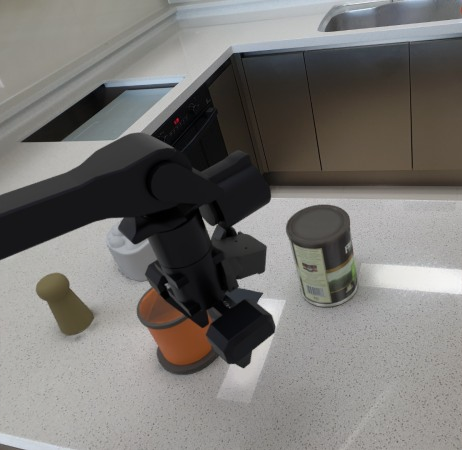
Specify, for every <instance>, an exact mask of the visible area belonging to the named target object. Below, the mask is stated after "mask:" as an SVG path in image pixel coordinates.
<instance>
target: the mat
mask: <svg viewBox="0 0 462 450" xmlns="http://www.w3.org/2000/svg"><path fill="white" fill-rule="evenodd" d="M225 294H226V295H227V296H228V297H230V298H231V299H232V300H233V301H234V302H236V303H237V304H238V303H239V302H241V301H242V300H244V299H249V300H254V301H255V302H256V303H257V304H258V301H259V300H260V299H261V297H262V295H263V294H264V293H263V292H261V291H255V290H252V289H246V288H242V287H238V288H236V289H235V290H234V291H232V292H229V291H227V292H226V293H225ZM207 311H208V313H209V316H210V317H211V318H213V319H215V320H216V319H218V317H217V316H216V315H215V314H214V313H213V312H212V311H211V310H210V309H208V310H207Z"/></svg>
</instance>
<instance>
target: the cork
mask: <svg viewBox="0 0 462 450" xmlns="http://www.w3.org/2000/svg"><path fill="white" fill-rule="evenodd" d="M70 285H71V283H70V280H69V279H68V277H67V276H66V275H65V274H63V273H61V272H52V273H48V274H46V275H44V276H43V277H41V278H40V279H39V281H38V282H37V283H36V285H35V292H36V295H37V296H38V298H40V299H41V300H42V301H44V302H46V304H47V305H48V307H49V309H50V312H51V313H52V315H53V317H54V319H55V322H56V324H57V326H58V327H59V330H60V332H61V334H63V335H65V336H73V335H74V336H75V335H77V334H80V333H81V332H83V331H84V330H86V329H87V328H88V327H90V325H91V324H92V322H93V321H94V318H95V316H94V315H95V314H94V312H93V311H92V310H91V309H90V307H88V305H86V303H85V302H83V300H82V299H81V298H80V297H79V296H78V295H77V294H76V293H75V292H74V290H73V289H72V288H71V287H70Z"/></svg>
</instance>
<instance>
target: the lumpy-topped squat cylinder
mask: <svg viewBox="0 0 462 450" xmlns="http://www.w3.org/2000/svg"><path fill="white" fill-rule="evenodd" d="M121 221H122V220H120V221H118V222H116V223H115V224H113V225H112V226H111V227H110V228H109V230H108V231H107V233H106V236H105V244H106V247H107V249H108V250H109V253H110V254H111V256H112V258H113V259H114V261H115V263H116V266H117V267H118V269H119V271H120V272H121V273H122V274H123V275H125V276H126V277H128V279H131V280H133V281H136V282H147V281H148V280H147V278H146V276H145V273H146V270H147V268H148V265H149V264H151V263H152V262H154V261H156V260H157V258H156V255H155V253H154V251H153V249H152V247H151V245H150V243H149V241H148V239H145V240H144V241H142V242H140V243H139V244H133V243H132V242H130V241H129V240H128V239H127V238H126V237H125V236H124V235H123V234H122V233H121V232H120V231H119V230H118V226H119V224H120V223H121Z"/></svg>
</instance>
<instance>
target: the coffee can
mask: <svg viewBox="0 0 462 450" xmlns="http://www.w3.org/2000/svg"><path fill="white" fill-rule="evenodd" d="M285 233H286V236H287V239H288V241H289V245H290V250H291V253H292V257H293V261H294V267H295V269H296V274H297V278H298V283H299V287H300V293H301V295H302V297H303V299H304V300H305V301H307V302H308V303H309V304H311V305H314V306H316V307H320V308H321V307H322V308H329V307H330V308H331V307H335V306H339V305H342V304H344V303H346V302H348V301H349V300H350V299H351V298H352V297H354V295H355V294H356V292H357V291H358V286H359V280H358V276H357V269H356V261H355V253H354V246H353V238H352V230H351V219H350V215H349V213H348V212H347V211H346V210H345V209H343V208H342V207H339V206H337V205H333V204H315V205H310V206H306V207H304V208H302V209H299V210H298V211H297V212H295V213H293V214H292V215H291V216H290V217H289V219H288V220H287V222H286V225H285Z"/></svg>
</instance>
